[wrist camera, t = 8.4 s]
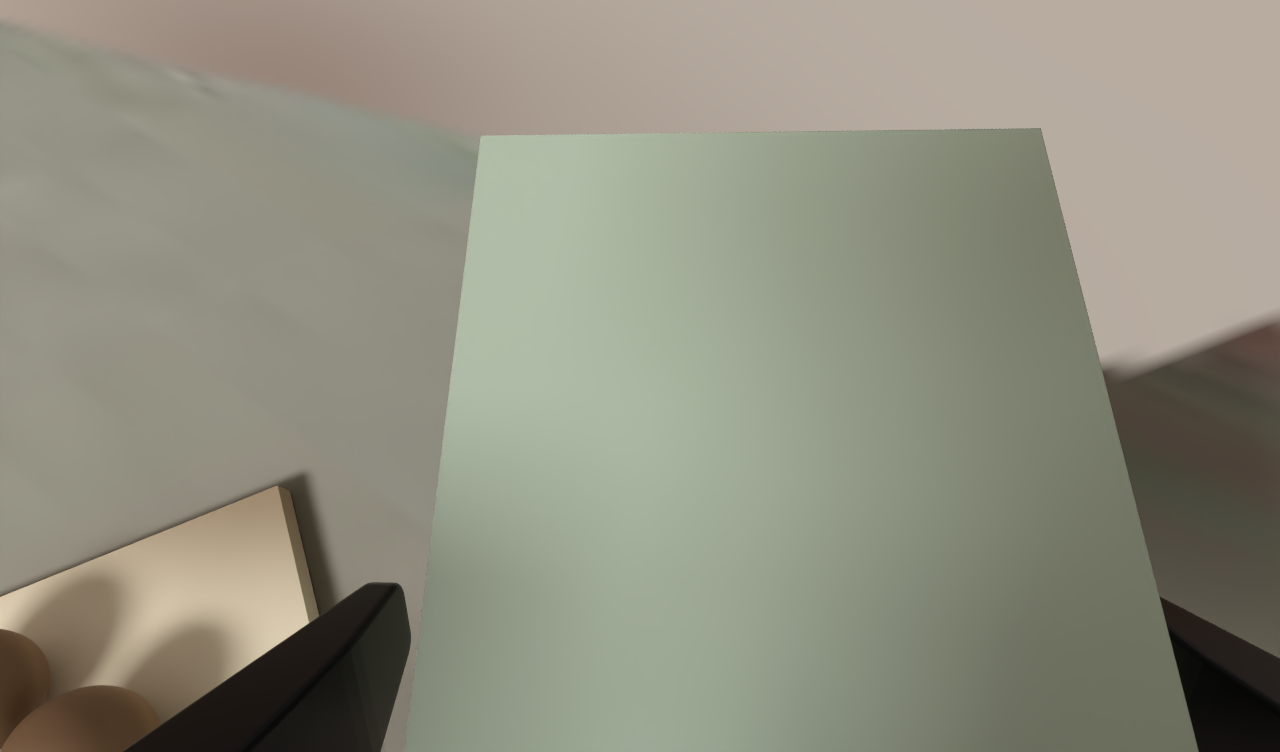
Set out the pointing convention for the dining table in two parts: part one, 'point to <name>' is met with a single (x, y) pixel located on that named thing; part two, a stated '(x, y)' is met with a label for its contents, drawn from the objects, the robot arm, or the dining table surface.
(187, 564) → the board
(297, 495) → the dining table surface
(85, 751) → the balls
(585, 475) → the pale green block
